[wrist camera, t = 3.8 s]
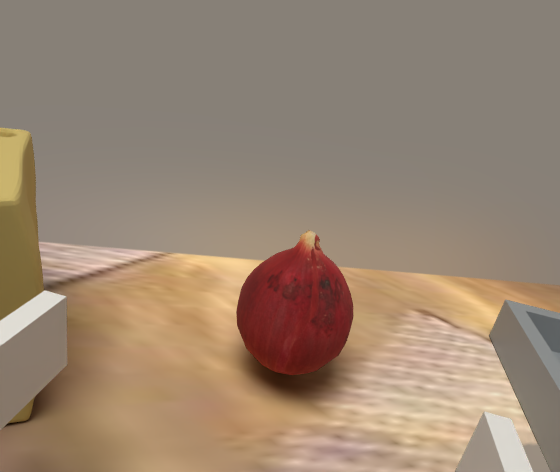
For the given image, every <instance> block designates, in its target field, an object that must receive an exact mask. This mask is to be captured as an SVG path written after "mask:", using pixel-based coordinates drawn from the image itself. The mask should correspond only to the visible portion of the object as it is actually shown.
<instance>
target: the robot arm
mask: <svg viewBox="0 0 560 472" xmlns="http://www.w3.org/2000/svg"><path fill="white" fill-rule="evenodd" d="M66 366H67V296H63V295H59V294H56V293H52V292H49V291H43V292H42V293H40V294H39V295H37V296H36V297H34V298H33V299H31V300H30V301H28V302H27V303H26V304H24V305H23V306H21V307H20V308H18V309H17V310H15V311H14V312H12V313H11V314H9V315H8V316H6V317H5V318H3V319H2V320H0V430H1V429H2V428H3V427H4V426H5V425H6V424H7V423H8V422H9V421H10V420H11V419H12V418H13V417H14V416H15V415H16V414H17V413H19V412H20V411H21V410H22V409H23V408H24V407H25V406H26V405H27V404H28V403H29V402H30V401H31V400H32V399H33V398H34V397H35V396H36V395H37V394H38V393H39V392H40V391H41V390H42V389H43V388H44V387H45V386H46V385H47V384H48V383H49V382H50V381H51V380H52V379H53V378H54V377H55V376H56V375H57V374H58V373H59V372H60V371H61V370H62V369H63V368H64V367H66ZM455 472H533V470H532V468H531V465H530V463H529V460H528V458H527V456H526V453H525V451H524V448H523V446H522V444H521V441H520V439H519V436H518V434H517V432H516V429H515V427H514V424H513V422H512V420H511V419H509V418H506V417H502V416H499V415H495V414H491V413H488V412H484V413H483V415H482V417H481V419H480V421H479V423H478V425H477V427H476V429H475V431H474V433H473V435H472V437H471V439H470V441H469V443H468V445H467V448H466V450H465V452H464V454H463V456H462V458H461V460H460V462H459V464H458V466H457V468H456V470H455Z"/></svg>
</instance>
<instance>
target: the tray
mask: <svg viewBox="0 0 560 472" xmlns="http://www.w3.org/2000/svg"><path fill="white" fill-rule="evenodd" d="M489 336H490V339H491V341H492V343H493V345H494V347H495V350H496V352H497V354H498V356H499V358H500V361H501V363H502V365H503V367H504V369H505V372H506V374H507V376H508V378H509V380H510V383H511V385H512V387H513V389H514V391H515V394H516V396H517V398H518V400H519V402H520V405H521V407H522V409H523V411H524V413H525V416H526V418H527V420H528V422H529V424H530V427H531V429H532V431H533V433H534V435H535V438H536V440H537V442H538V444H539V446H540V449H541V451H542V453H543V455H544V457H545V459H546V462H547V464H548V466H549V468H550V470H551V472H560V313H557V312H553V311H549V310H545V309H541V308H537V307H533V306H529V305H525V304H521V303H517V302H513V301H509V300H505V302H504V304H503V306H502V308H501V310H500V313H499V315H498V317H497V319H496V322H495V324H494V326H493V328H492V330H491V333H490V335H489Z"/></svg>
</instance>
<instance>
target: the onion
mask: <svg viewBox="0 0 560 472" xmlns="http://www.w3.org/2000/svg"><path fill="white" fill-rule="evenodd" d="M319 242H320V239H319V237H318V236H317V235H316V234H315V233H314V232H312V231H310V230H308V231H307V232H306V233H304V234H302V235H301V237H300V241H299V242H298V244H297V245H296V246H295V247H294V248H292V249H289V250H285V251H282V252H279V253H277V254H275V255H273V256H272V257H270V258H269V259H267V260H265V261H264V262H262V263H261V264H260V265H259V266H258V267H256V268H255V269H254V270H253V271H252V273H251V274H250V275H249V276H248V277H247V279H246V281H245V283H244V284H243V286H242V289H241V293H240V296H239V300H238V306H237V326H238V329H239V331H240V334H241V336H242V339H243V341H244V343H245V346H246V348H247V350H248V351H249V352H250V353H251V354H252V355H253V356H254V357H255V358H256V359H257V360H258V361H259V362H260V363H261V364H262V365H263V366H265V367H267V368H269V369H270V370H272V371H274V372H278V373H283V374H288V375H296V374H305V373H310V372H314V371H317V370H318V369H320V368H321V367H323V366H324V365H325V364H327V363H328V362H330V361H331V360H332V359H334V358H335V357H337V356H338V355H339V354H340V352H341V350H342V348H343V347H344V345H345V343H346V341H347V338H348V335H349V332H350V328H351V324H352V320H353V302H352V298H351V293H350V291H349V288H348V285H347V283H346V281H345V278H344V276H343V274H342V273H341V271H340V270H339V268H338V267H337V266H336V265H335V264H334V262H333V261H331V260H330V259H329V258H328V257H327V256H325V255H324V254H323V252H322V250H321V248H320V246H319Z"/></svg>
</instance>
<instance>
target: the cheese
mask: <svg viewBox="0 0 560 472" xmlns="http://www.w3.org/2000/svg"><path fill="white" fill-rule="evenodd" d="M35 179H36V177H35V162H34V153H33V144H32V137H31V134H30V133H29V132H28V131H25V130H17V129H7V128H0V320H2V319H3V318H5V317H6V316H8V315H9V314H11V313H12V312H14V311H15V310H17V309H18V308H20V307H21V306H23V305H24V304H26V303H27V302H28V301H30V300H31V299H33V298H34V297H36V296H37V295H39V294H40V293H42V292H43V291H44V287H43V274H42V265H41V257H40V251H39V245H38V227H37V226H38V225H37V214H36V203H35V202H36V200H35V198H36V182H35V181H36V180H35ZM34 398H35V397H34ZM34 398H33V399H32V400H31V401H30V402H29V403H28V404H27V405H26V406H25V407H24V408H23V409H22V410H21V411H20V412H19V413H17V414H16V415H15V416H14V417H13V418H12V419H11V420H10V421H9V422H8V423H13V422H20V421H26V420H28V419H29V417H30V415H31V411H32V407H33V402H34Z"/></svg>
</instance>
